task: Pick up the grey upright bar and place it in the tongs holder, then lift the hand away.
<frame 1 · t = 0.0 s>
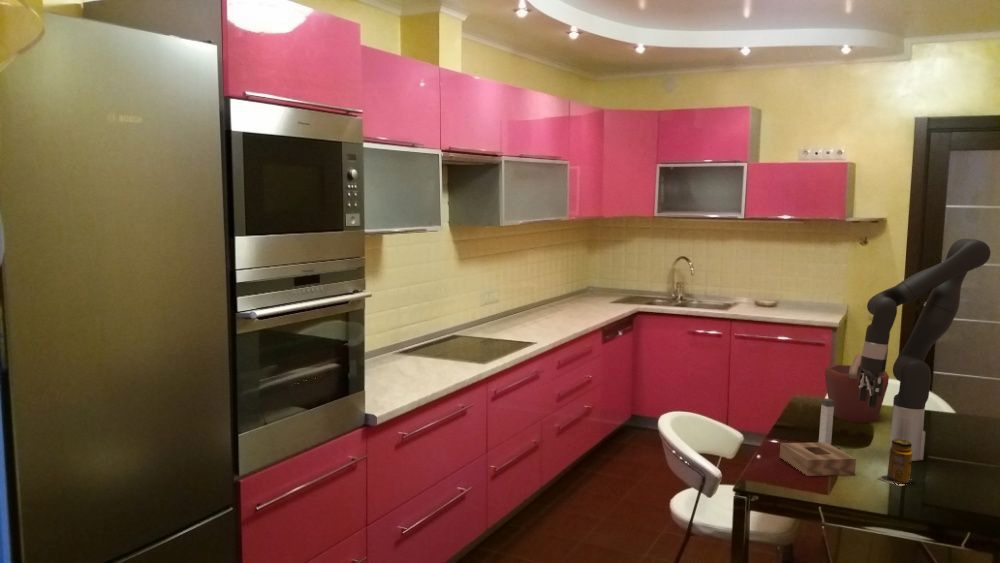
hand: (866, 403, 247), 17 cm above the table, tool pointing down, fingers open, 8 cm apart
tongs holder: (816, 466, 235), on the table
grey upright bar: (824, 452, 249), on the table
condiment: (896, 480, 225), on the table
bucket: (855, 417, 295), on the table
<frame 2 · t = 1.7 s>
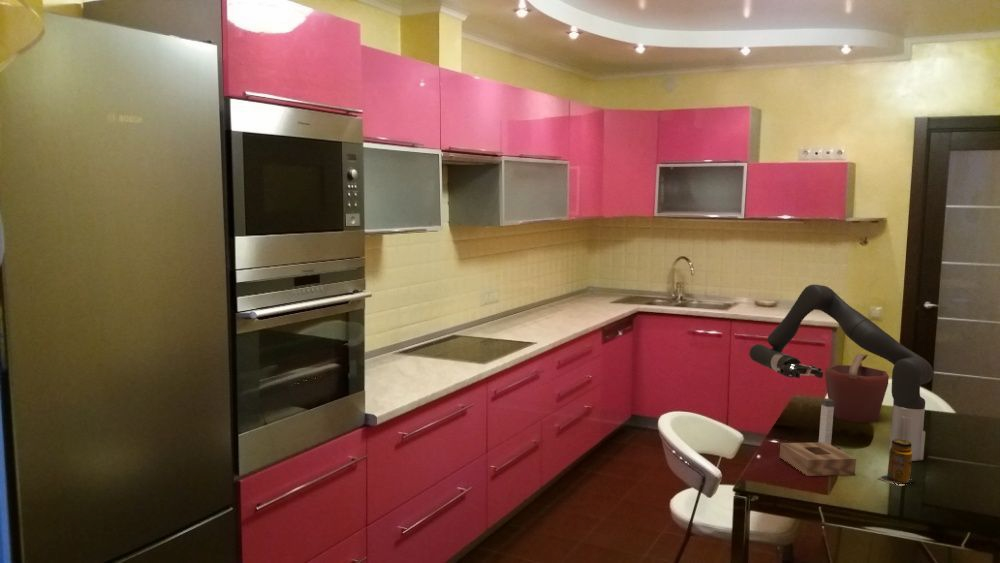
hand: (810, 375, 258), 24 cm above the table, tool horizontal, fingers open, 8 cm apart
nothing on the table moved.
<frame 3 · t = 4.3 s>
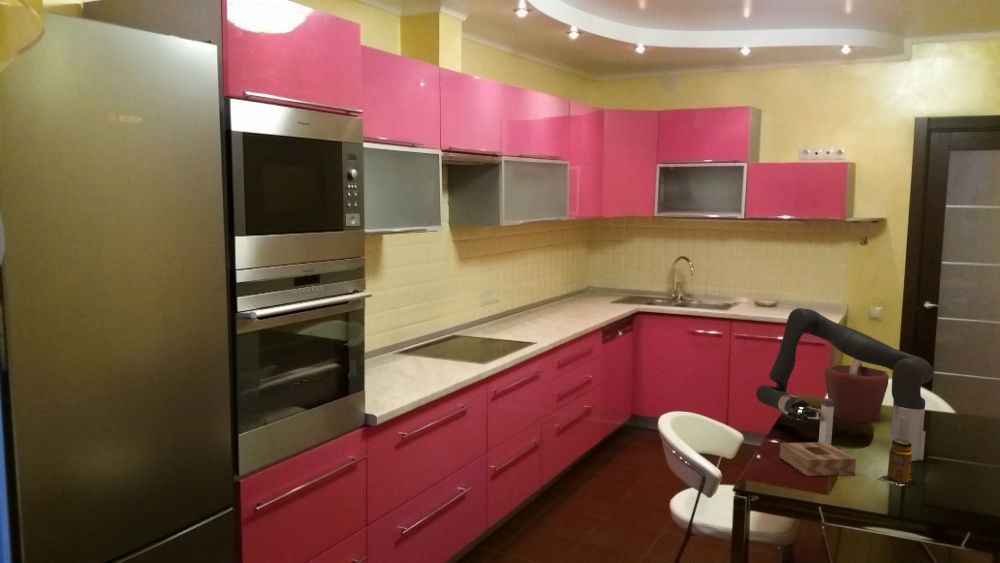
hand: (819, 419, 252), 10 cm above the table, tool horizontal, fingers open, 8 cm apart
nothing on the table moved.
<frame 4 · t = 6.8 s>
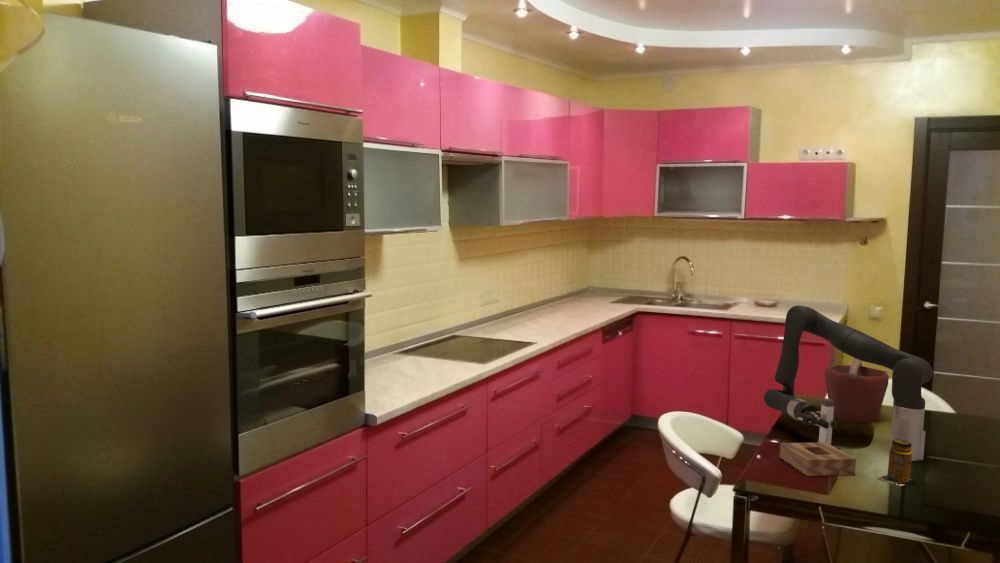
hand: (831, 425, 245), 10 cm above the table, tool horizontal, fingers closed on grey upright bar, 2 cm apart
grey upright bar: (824, 452, 249), on the table, touching gripper
everything else where it was.
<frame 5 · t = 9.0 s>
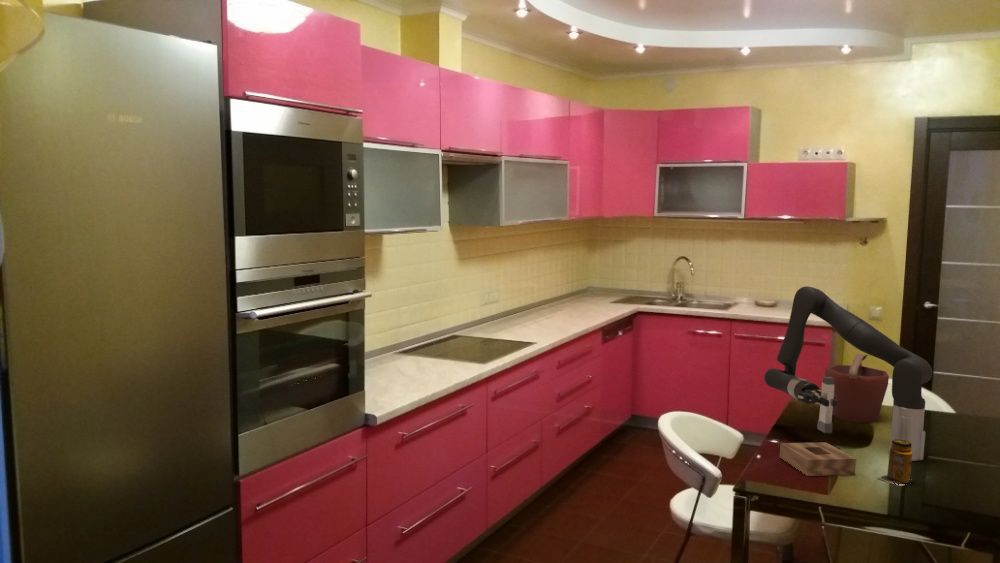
hand: (831, 403, 243), 18 cm above the table, tool horizontal, fingers closed on grey upright bar
grey upright bar: (824, 430, 247), point 8 cm above the table, touching gripper
everything else where it was.
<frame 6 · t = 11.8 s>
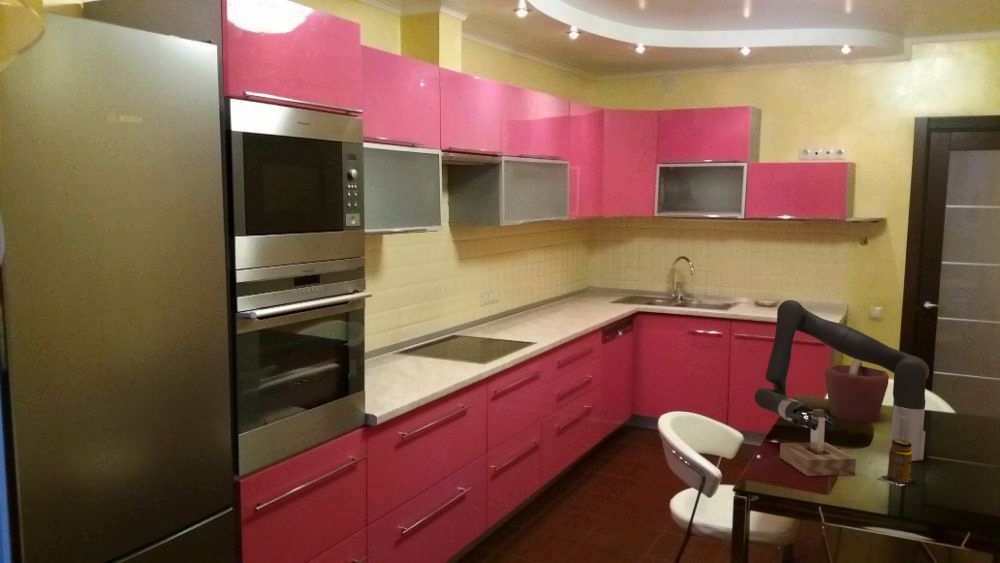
hand: (824, 427, 231), 14 cm above the table, tool horizontal, fingers open, 5 cm apart
grey upright bar: (816, 466, 235), resting in tongs holder
everything else where it was.
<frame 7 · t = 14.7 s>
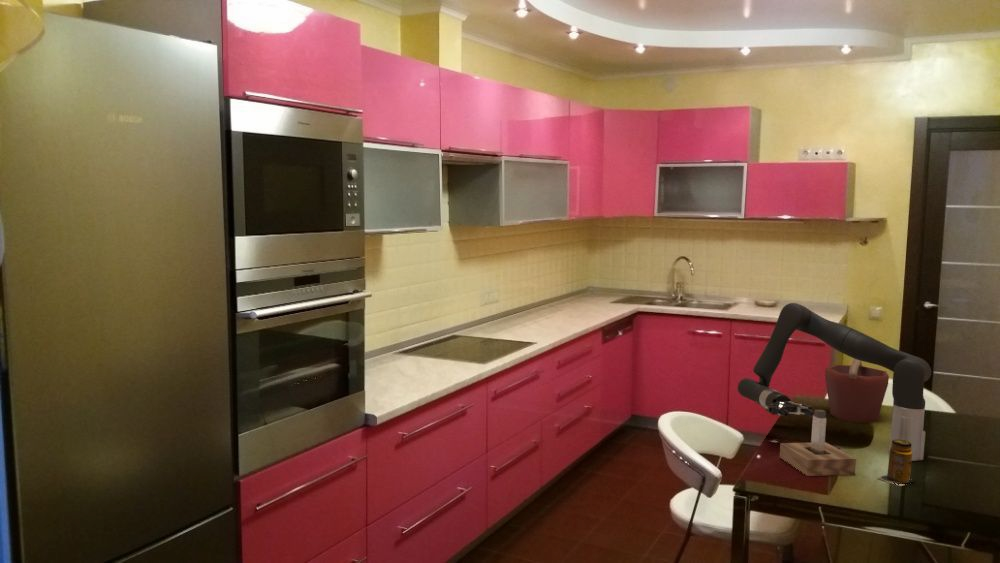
hand: (799, 414, 245), 14 cm above the table, tool horizontal, fingers open, 8 cm apart
nothing on the table moved.
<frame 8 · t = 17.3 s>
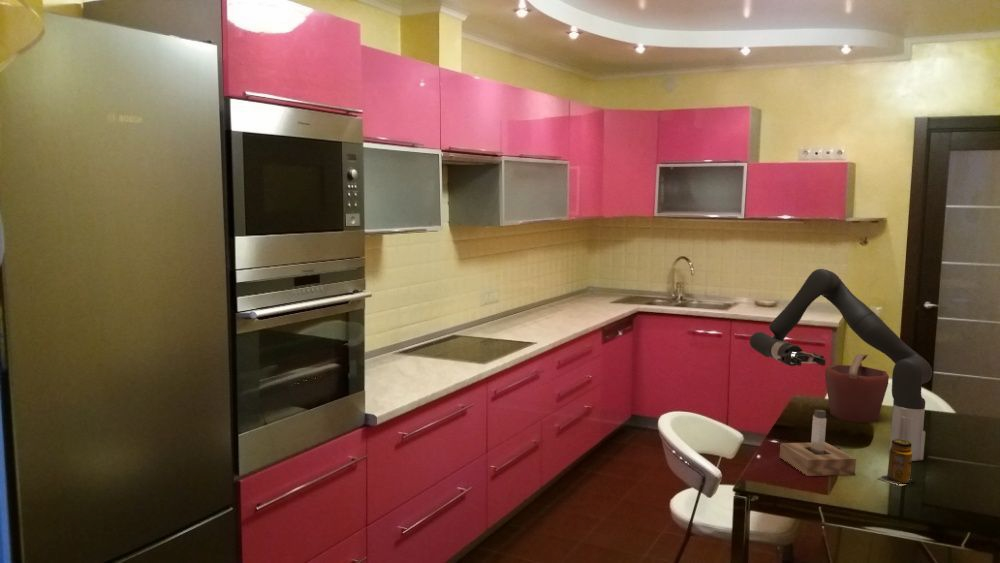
hand: (812, 362, 248), 30 cm above the table, tool horizontal, fingers open, 8 cm apart
nothing on the table moved.
at the end: grey upright bar 0.1 cm off-centre on the tongs holder, point 0.0 cm above the tongs holder's base; grey upright bar tilted 0°; the gripper is holding nothing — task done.
